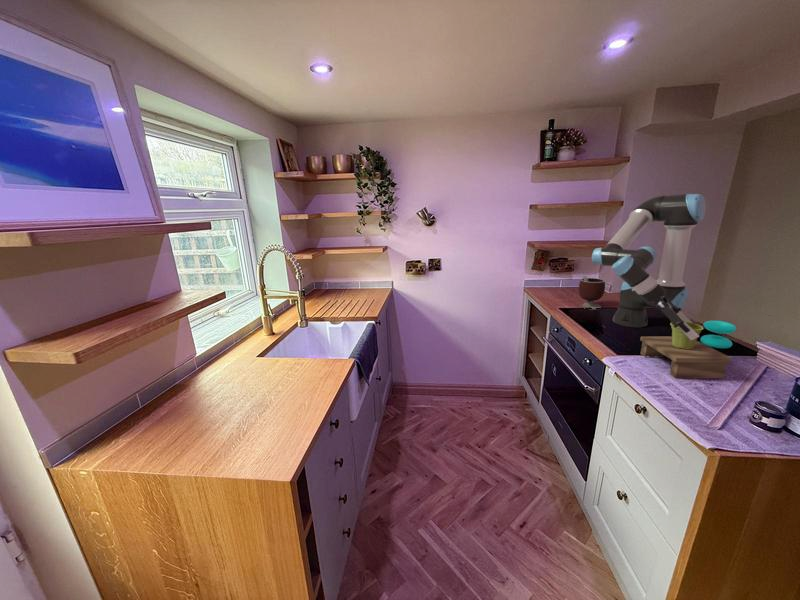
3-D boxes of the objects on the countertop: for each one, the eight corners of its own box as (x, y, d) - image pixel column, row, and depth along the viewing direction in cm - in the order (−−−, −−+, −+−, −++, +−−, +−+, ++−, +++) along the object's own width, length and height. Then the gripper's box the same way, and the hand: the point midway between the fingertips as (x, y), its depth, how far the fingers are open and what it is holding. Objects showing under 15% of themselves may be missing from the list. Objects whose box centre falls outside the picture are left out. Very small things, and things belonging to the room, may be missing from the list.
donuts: (698, 319, 141) (725, 319, 138) (694, 339, 144) (720, 340, 141) (714, 327, 132) (743, 328, 129) (709, 348, 134) (737, 350, 132)
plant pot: (660, 341, 125) (664, 321, 123) (684, 341, 125) (688, 320, 122) (679, 352, 116) (684, 330, 114) (705, 351, 116) (710, 329, 113)
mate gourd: (607, 307, 194) (611, 275, 188) (592, 311, 189) (595, 278, 183) (584, 301, 207) (588, 272, 202) (569, 304, 202) (572, 274, 197)
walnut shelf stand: (637, 353, 133) (640, 336, 131) (683, 353, 131) (687, 336, 129) (672, 378, 114) (676, 358, 112) (726, 378, 112) (731, 358, 110)
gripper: (638, 288, 134) (678, 326, 130) (639, 303, 115) (686, 349, 110) (656, 277, 130) (698, 316, 125) (660, 290, 110) (709, 337, 106)
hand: (692, 331), depth 118 cm, fingers open, 13 cm apart
